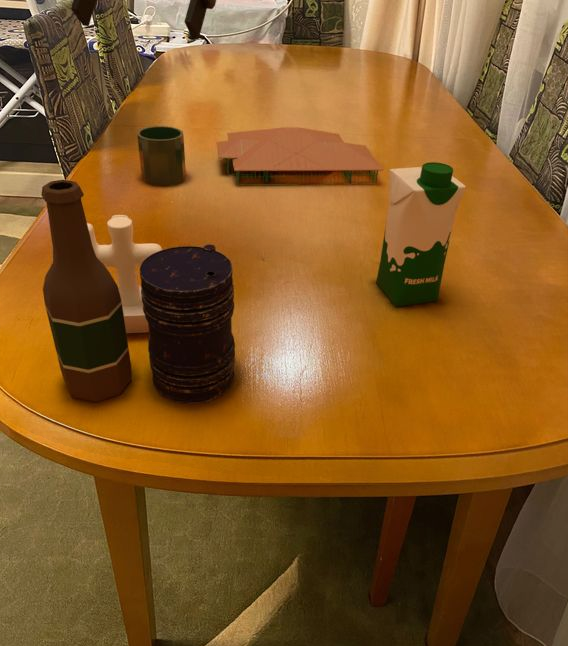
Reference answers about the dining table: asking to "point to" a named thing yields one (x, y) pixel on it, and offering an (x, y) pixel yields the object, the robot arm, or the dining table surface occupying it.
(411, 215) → the milk carton
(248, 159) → the house
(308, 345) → the dining table surface
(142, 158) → the green mug
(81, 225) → the beer bottle
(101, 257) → the figurine
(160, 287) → the dark oil barrel
